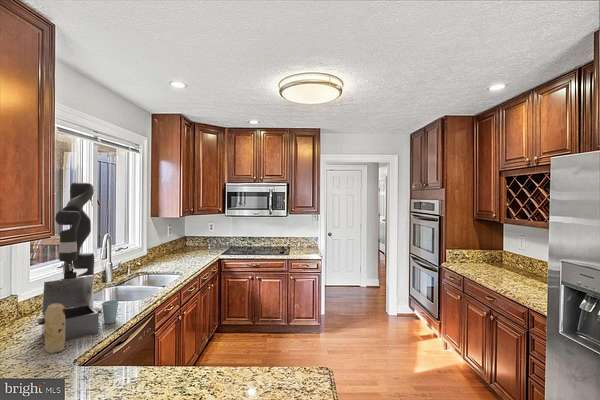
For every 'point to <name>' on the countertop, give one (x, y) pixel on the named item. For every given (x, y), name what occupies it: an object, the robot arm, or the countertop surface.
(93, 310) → the cooker pot
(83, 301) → the lid
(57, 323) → the food model
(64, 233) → the robot arm
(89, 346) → the countertop surface
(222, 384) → the countertop surface
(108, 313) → the cup
